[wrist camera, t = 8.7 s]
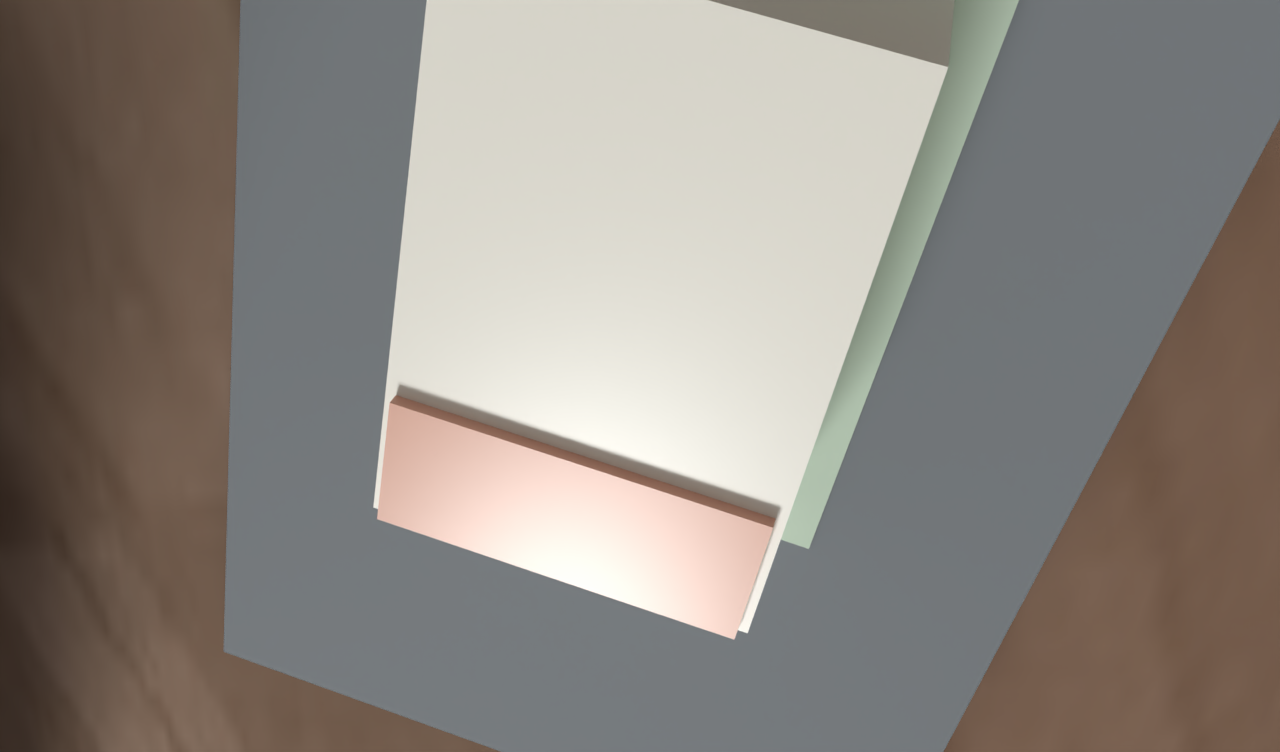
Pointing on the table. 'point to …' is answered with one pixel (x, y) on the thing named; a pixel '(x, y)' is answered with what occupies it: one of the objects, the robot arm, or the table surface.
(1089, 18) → the shallow gray tray
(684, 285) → the card case
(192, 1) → the table surface
